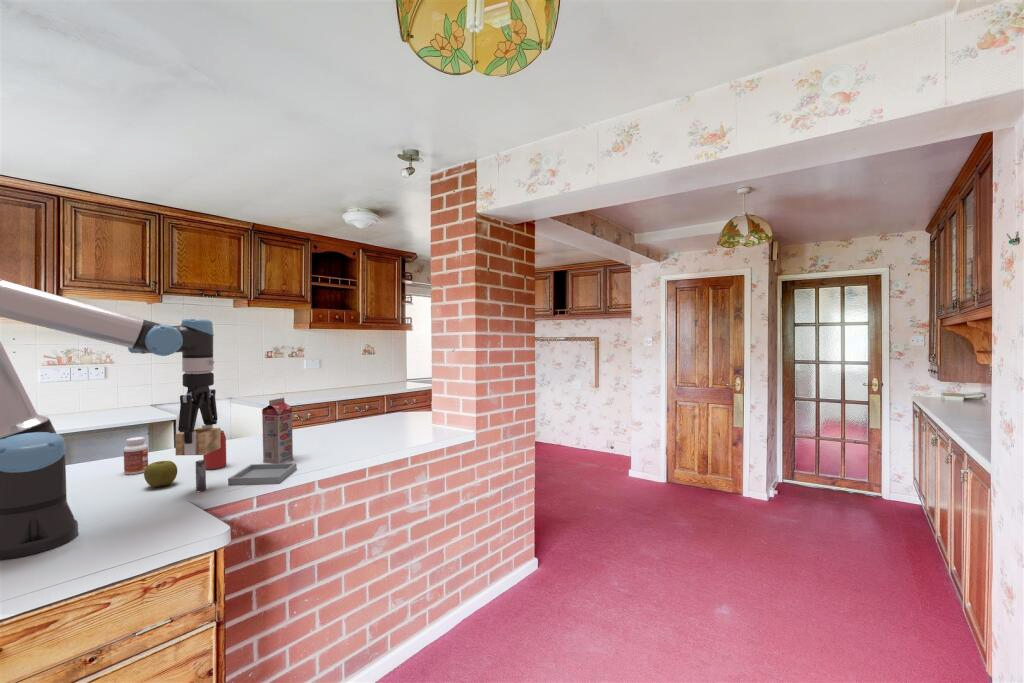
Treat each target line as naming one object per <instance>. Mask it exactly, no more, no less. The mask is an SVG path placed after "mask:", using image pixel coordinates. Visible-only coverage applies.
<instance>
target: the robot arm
mask: <svg viewBox="0 0 1024 683" xmlns="http://www.w3.org/2000/svg"><path fill="white" fill-rule="evenodd" d="M0 318H4V319H8V320H13V321H17V322H22V323H25V324H28V325H34V326H38V327H41V328H47V329H51V330H55V331H59V332H63V333H67V334H71V335H75V336H80V337H84V338H88V339H92V340H96V341H100V342H106V343H108V344H114V345H118V346H121V347H124V348H125V347H126V348H127V349H128V352H129V353H132V354H141V355H145V354H154V355H155V356H161V357H166V356H170V355H173V354H175V353H181V357H182V361H181V362H182V363H181V364H182V365H181V366H182V367H181V369H182V370H181V371H182V372H183V374H182V386H183V387H185V388H187V390H186V391H187V392H186V394H182V395H180V396H179V402H180V407H179V418H178V427H177V430H178V432H179V433H180V432H184V455H183V456H197V455H196V431H194V428H196V427H195V426H196V421H197V419H198V415H199V414H198V413H199V411H200V414H201V418H202V422H203V425H201V428H214V425H218V412H217V402H216V389H215V388H214V389H210V386H213V385H214V384H215V380H214V379H215V376H214V375H215V374H214V373H213V370H214V364H215V361H214V336H215V334H214V327H213V326H214V325H213V322H212V321H211V320H210V319H207V318H205V319H203V318H183V319H182V320H181V324H180V325H169V324H161V323H159V322H154V321H152V320H151V321H150V320H146V319H143V318H140V317H136V316H133V315H130V314H126V313H123V312H118V311H115V310H111V309H107V308H104V307H101V306H97V305H94V304H90V303H86V302H83V301H79V300H76V299H72V298H69V297H65V296H61V295H58V294H55V293H50V292H47V291H43V290H40V289H36V288H33V287H29V286H26V285H22V284H18V283H16V282H12V281H8V280H3V279H2V278H1V277H0ZM66 451H67V445H66V443H65V439H64V437H63V436H62V435H61V434H59V433H57V431H56V429H55V428H54V425H53V423H52V421H51V419H50V418H49V416H45V415H40V414H38V413H37V411H36V409H35V407H34V405H33V403H32V401H31V399H30V397H29V395H28V393H27V391H26V389H25V387H24V385H23V383H22V382H21V379H20V378H19V375H18V373H17V371H16V369H15V368H14V365H13V364H12V362H11V359H10V357H9V355H8V353H7V351H6V350H5V348H4V346H3V343H2V342H1V341H0V560H8V559H9V560H10V559H15V558H20V557H25V556H30V555H33V554H39V553H41V552H45V551H47V550H52V549H53V548H57V547H59V546H61V545H63V544H66V543H68V542H69V541H71V540H73V539H75V538H76V537H77V535H78V534H79V524H78V521H77V520H76V518H75V516H74V514H73V512H72V510H71V507H70V506H69V503H68V499H67V498H68V497H67V473H66V472H67V470H66V469H67V468H66V466H67V465H66V453H67V452H66Z"/></svg>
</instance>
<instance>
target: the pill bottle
mask: <svg viewBox="0 0 1024 683" xmlns="http://www.w3.org/2000/svg"><path fill="white" fill-rule="evenodd" d="M145 440H146V438H145V436H136V437H130V438H127V439H126V440H125V441H126V445H125V447H124V448H123V470H124V474H125V475H138V474H142V473H143V474H144V471H145V469H146V467H147V466H148V465H149V450H148V444H146V443H145Z"/></svg>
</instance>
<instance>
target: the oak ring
mask: <svg viewBox="0 0 1024 683" xmlns="http://www.w3.org/2000/svg"><path fill="white" fill-rule="evenodd" d="M194 431H196V455H195V456H203V455H207V454H209V453H211V452H213V451H215V450H217V449H219V448H221V427H213V428H202V427H194ZM174 438H175V440H174V441H175V456H185V455H184V432H180V431H179V432H177V433H175V437H174Z"/></svg>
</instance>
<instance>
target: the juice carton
mask: <svg viewBox="0 0 1024 683" xmlns="http://www.w3.org/2000/svg"><path fill="white" fill-rule="evenodd" d="M285 401H286V400H285V397H280V398H275V399H269V401H268V403H269V404H268V405H267V406H266V407H264V408H262V409H261V413H262V414H261V416H262V417H261V418H262V419H261V421H262V462H263V463H262V464H282V463H286V462H288V461H291V460H293V457H294V451H293V449H294V448H293V446H294V445H293V408H292V406H291V405H289V404H288V403H286V402H285Z"/></svg>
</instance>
